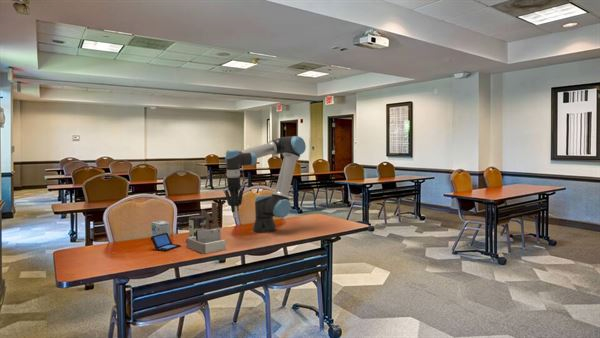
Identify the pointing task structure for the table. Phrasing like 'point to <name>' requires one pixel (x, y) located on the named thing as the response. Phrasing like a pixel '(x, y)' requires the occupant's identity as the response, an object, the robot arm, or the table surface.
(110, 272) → the table surface
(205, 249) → the mortise bay
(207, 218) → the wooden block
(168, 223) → the light bulb box
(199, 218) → the grey-green tall box
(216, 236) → the gray rectangular block
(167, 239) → the handheld game console
